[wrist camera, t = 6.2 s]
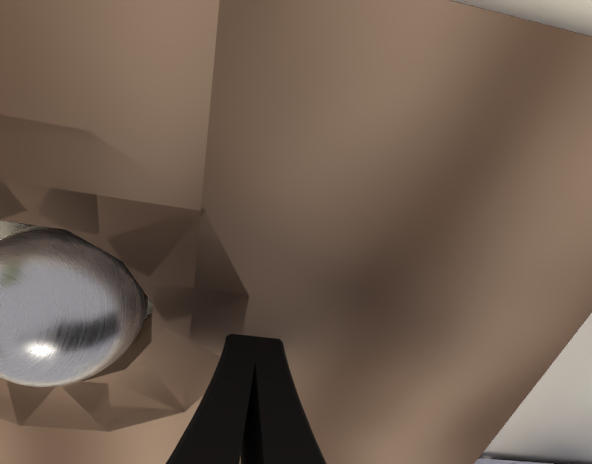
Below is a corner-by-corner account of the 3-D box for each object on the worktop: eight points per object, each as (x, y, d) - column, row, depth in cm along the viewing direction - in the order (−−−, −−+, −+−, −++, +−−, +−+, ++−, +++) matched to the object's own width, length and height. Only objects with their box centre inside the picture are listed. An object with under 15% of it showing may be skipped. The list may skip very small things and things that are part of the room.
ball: (-3, 177, 8) (121, 197, 12) (-126, 302, 8) (32, 281, 12) (113, 336, 7) (201, 301, 11) (-26, 458, 8) (105, 383, 12)
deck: (680, 67, 9) (771, 81, 8) (426, 456, 18) (442, 504, 16) (-297, -177, 7) (-500, -241, 5) (-53, 422, 15) (-96, 477, 13)
